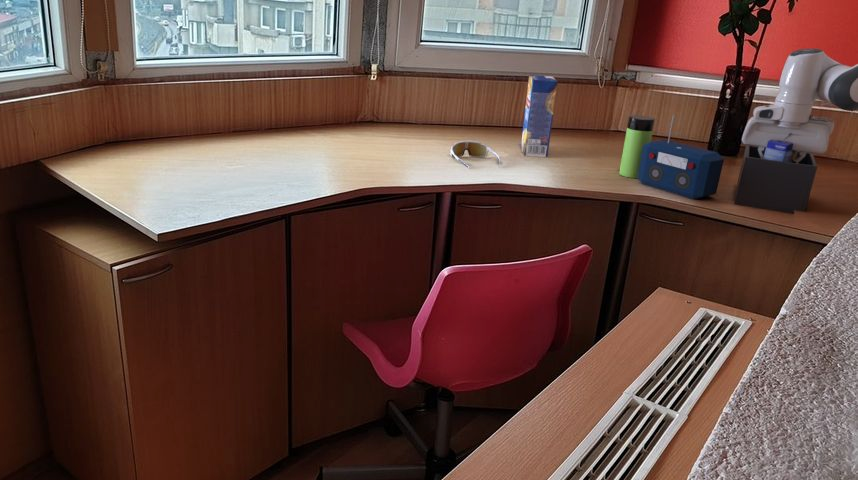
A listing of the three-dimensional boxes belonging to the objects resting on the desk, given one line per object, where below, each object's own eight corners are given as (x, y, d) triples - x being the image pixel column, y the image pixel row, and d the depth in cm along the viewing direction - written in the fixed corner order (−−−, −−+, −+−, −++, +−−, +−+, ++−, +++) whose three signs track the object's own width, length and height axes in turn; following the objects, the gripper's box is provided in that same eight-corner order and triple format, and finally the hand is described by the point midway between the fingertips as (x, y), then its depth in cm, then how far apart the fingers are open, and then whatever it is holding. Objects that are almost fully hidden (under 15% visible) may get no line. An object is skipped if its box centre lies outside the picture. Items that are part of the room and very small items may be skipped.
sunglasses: (484, 154, 229) (487, 140, 227) (504, 173, 217) (507, 158, 214) (443, 156, 225) (445, 141, 222) (461, 175, 213) (464, 159, 210)
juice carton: (547, 157, 231) (557, 81, 222) (524, 155, 231) (533, 79, 222) (542, 148, 242) (552, 76, 233) (520, 147, 243) (529, 74, 234)
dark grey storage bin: (800, 198, 200) (812, 153, 195) (803, 215, 185) (817, 166, 180) (735, 188, 206) (746, 144, 202) (734, 204, 191) (745, 157, 187)
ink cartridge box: (776, 189, 189) (790, 135, 184) (755, 185, 193) (768, 131, 187) (790, 184, 195) (804, 131, 190) (769, 179, 199) (782, 127, 194)
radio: (633, 182, 207) (646, 113, 199) (652, 179, 212) (665, 111, 204) (698, 202, 191) (714, 127, 184) (717, 197, 196) (733, 125, 189)
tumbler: (618, 171, 219) (627, 114, 213) (643, 173, 218) (653, 115, 211) (620, 177, 212) (630, 118, 206) (646, 179, 211) (657, 120, 204)
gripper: (835, 116, 185) (820, 168, 191) (748, 107, 193) (737, 157, 198) (837, 120, 180) (822, 173, 185) (748, 110, 188) (736, 161, 193)
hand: (777, 165), depth 192 cm, fingers closed on ink cartridge box, 6 cm apart
